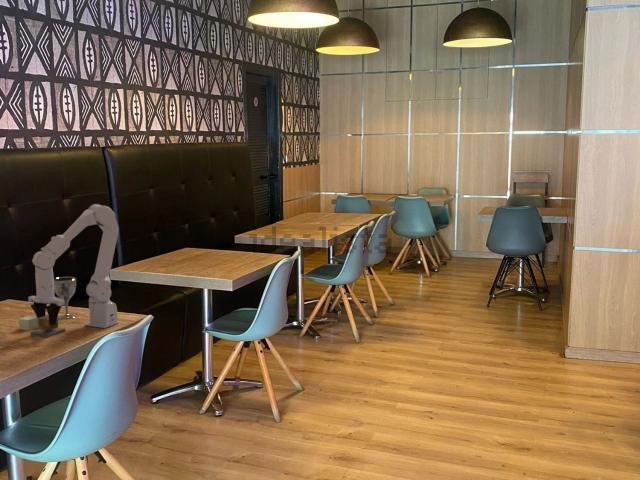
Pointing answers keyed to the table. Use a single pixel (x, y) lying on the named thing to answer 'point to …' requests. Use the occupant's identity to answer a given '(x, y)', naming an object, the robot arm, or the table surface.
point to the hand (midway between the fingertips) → (47, 323)
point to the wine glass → (65, 292)
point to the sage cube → (28, 323)
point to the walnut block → (46, 323)
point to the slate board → (47, 332)
